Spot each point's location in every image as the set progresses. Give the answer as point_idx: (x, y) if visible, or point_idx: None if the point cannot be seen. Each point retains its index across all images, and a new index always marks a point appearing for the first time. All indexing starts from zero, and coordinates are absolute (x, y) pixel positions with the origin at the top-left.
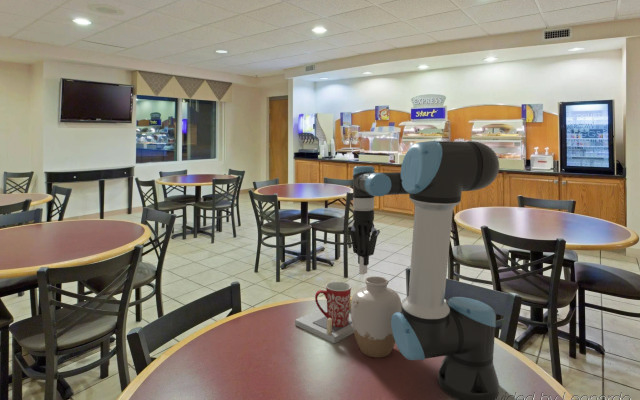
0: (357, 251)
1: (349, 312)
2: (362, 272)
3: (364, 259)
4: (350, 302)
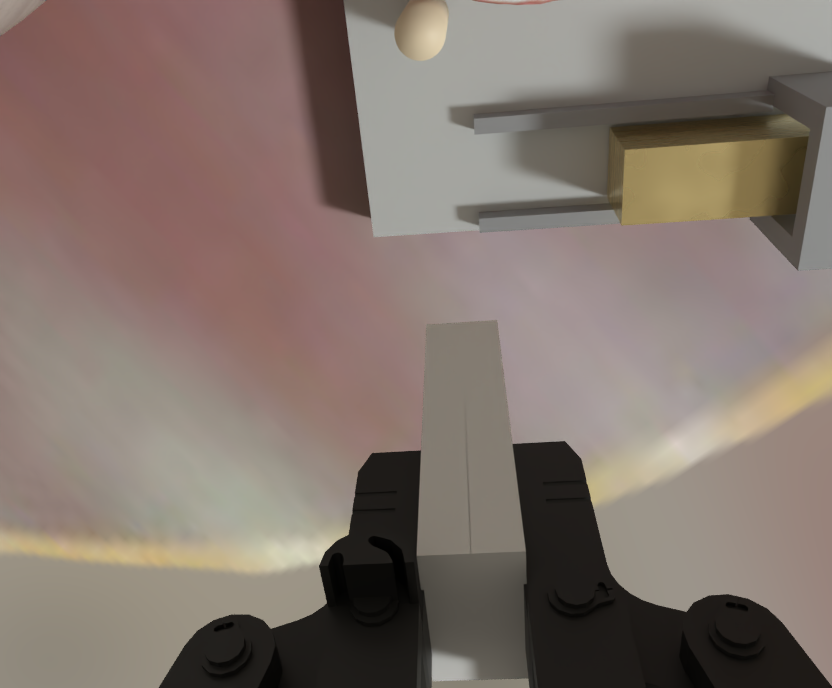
0: (629, 658)
1: (584, 104)
2: (430, 343)
3: (405, 540)
4: (623, 171)
